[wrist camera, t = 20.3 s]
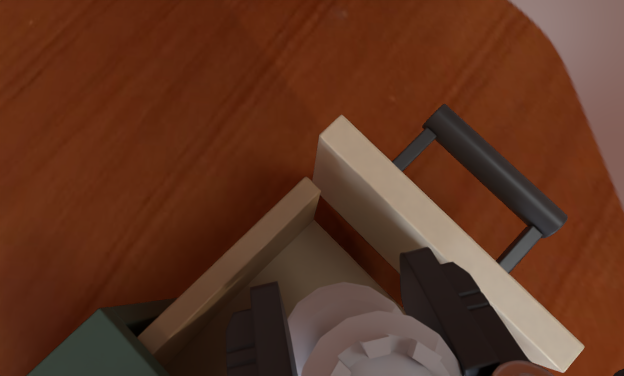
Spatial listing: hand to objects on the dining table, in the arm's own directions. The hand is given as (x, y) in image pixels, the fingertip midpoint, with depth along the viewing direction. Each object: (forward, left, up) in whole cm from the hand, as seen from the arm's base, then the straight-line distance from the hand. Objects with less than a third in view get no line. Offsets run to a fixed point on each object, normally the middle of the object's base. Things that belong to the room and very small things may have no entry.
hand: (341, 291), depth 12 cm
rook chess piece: (0, +2, -4) cm, 5 cm away
